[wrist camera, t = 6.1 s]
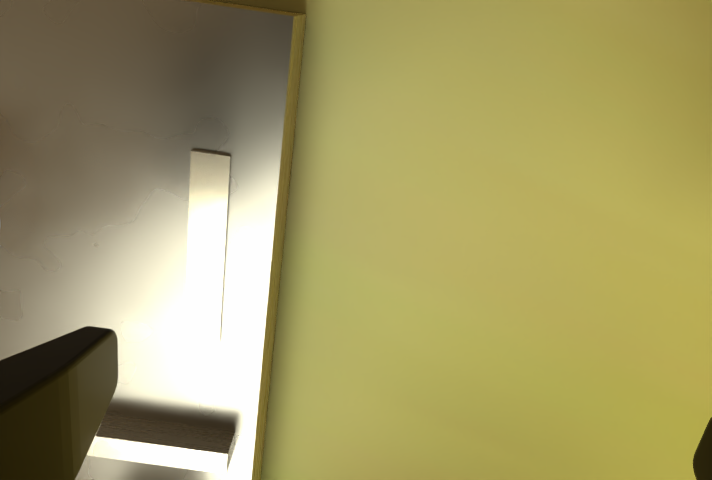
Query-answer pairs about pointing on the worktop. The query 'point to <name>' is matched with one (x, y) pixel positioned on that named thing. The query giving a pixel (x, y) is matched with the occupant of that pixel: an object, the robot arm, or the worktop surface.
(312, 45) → the worktop surface
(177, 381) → the breaker panel
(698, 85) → the worktop surface
